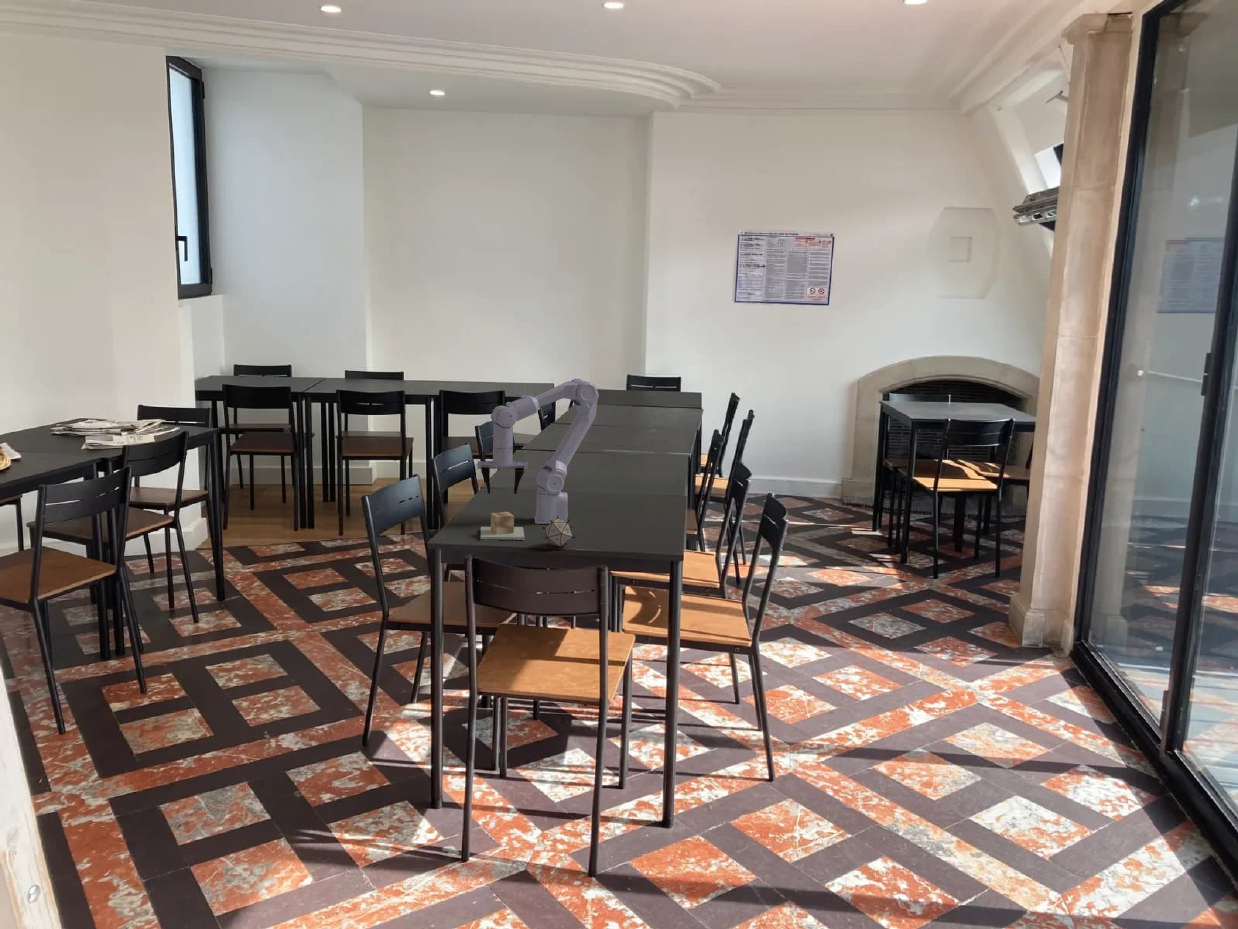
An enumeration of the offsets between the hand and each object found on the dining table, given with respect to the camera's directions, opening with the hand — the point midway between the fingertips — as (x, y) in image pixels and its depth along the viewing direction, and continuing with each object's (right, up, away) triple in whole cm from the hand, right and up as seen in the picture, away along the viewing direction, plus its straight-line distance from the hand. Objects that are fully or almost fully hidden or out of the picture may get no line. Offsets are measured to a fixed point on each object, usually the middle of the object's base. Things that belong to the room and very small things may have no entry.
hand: (502, 493), depth 277 cm
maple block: (+1, -11, -10) cm, 15 cm away
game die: (+18, -14, -19) cm, 30 cm away
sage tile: (+1, -12, -10) cm, 16 cm away
